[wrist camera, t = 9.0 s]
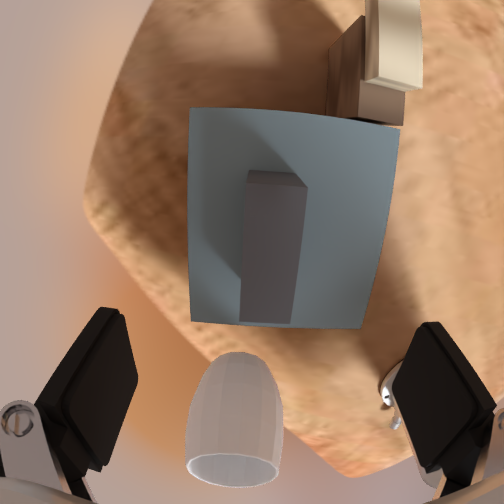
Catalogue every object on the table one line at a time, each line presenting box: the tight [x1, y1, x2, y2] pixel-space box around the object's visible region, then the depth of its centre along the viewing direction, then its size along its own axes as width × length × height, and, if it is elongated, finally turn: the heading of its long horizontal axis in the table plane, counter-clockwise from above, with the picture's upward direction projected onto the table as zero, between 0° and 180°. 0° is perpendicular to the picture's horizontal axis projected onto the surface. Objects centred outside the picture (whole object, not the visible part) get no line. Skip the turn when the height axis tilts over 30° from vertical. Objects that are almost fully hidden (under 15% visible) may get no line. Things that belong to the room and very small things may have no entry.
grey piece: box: [187, 107, 400, 329], centre depth 19 cm, size 16×14×7 cm
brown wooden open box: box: [325, 15, 405, 126], centre depth 24 cm, size 24×14×10 cm, turn 177°
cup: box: [185, 352, 283, 488], centre depth 25 cm, size 7×7×21 cm
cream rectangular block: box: [364, 0, 423, 92], centre depth 13 cm, size 8×3×2 cm, turn 177°
